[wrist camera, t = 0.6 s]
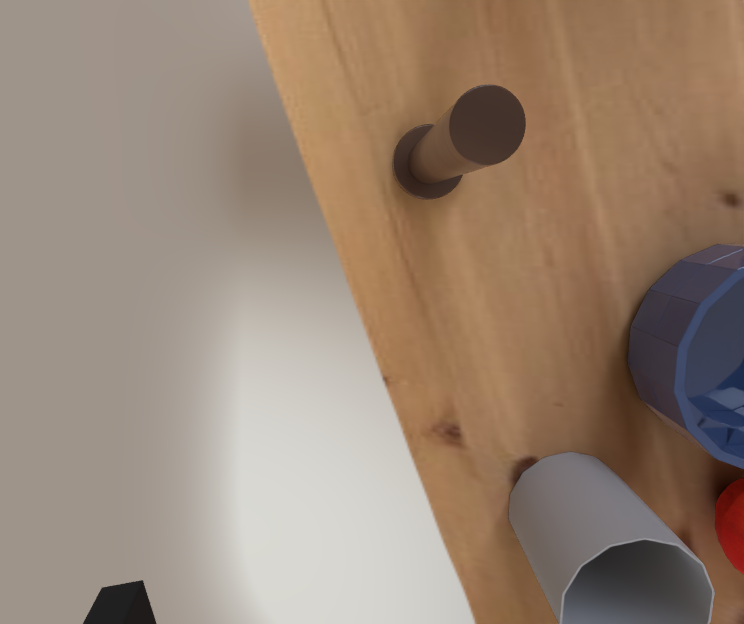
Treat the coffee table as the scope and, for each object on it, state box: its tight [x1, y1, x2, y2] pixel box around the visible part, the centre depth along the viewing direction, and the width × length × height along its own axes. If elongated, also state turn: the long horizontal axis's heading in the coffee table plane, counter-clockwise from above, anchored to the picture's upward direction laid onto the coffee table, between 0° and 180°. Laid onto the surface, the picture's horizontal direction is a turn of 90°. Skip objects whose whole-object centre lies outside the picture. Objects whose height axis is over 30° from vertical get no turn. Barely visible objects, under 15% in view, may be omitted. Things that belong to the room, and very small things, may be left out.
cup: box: [508, 452, 715, 624], centre depth 34 cm, size 8×8×10 cm
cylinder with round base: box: [392, 85, 526, 199], centre depth 26 cm, size 4×4×16 cm
